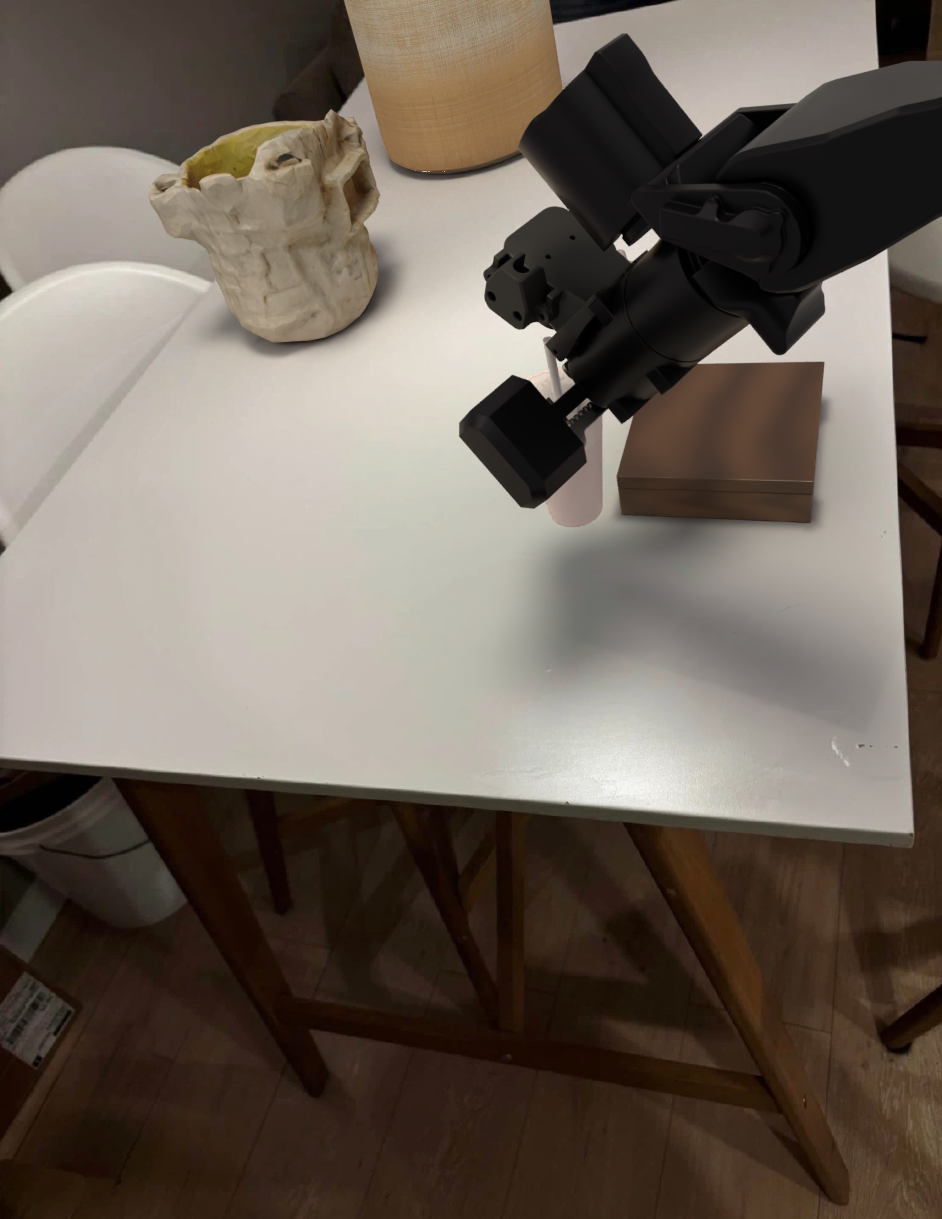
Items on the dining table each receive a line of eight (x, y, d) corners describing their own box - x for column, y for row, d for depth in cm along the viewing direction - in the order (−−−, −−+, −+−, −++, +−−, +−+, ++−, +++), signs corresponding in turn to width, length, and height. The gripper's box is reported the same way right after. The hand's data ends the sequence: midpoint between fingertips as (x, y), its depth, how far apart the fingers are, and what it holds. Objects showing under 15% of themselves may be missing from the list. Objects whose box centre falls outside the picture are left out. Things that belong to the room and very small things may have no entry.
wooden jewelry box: (821, 401, 73) (824, 360, 70) (810, 522, 65) (814, 481, 62) (650, 402, 78) (647, 364, 75) (621, 514, 70) (616, 476, 67)
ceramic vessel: (215, 191, 110) (260, -10, 90) (385, 299, 114) (464, 130, 94) (113, 290, 97) (139, 81, 77) (309, 409, 101) (382, 239, 81)
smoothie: (567, 555, 60) (529, 382, 50) (514, 510, 64) (468, 342, 54) (641, 506, 61) (619, 328, 51) (584, 465, 65) (553, 293, 55)
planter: (508, 185, 112) (469, -18, 96) (354, 177, 124) (296, -4, 108) (598, 94, 124) (576, -100, 108) (449, 96, 136) (410, -78, 120)
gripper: (681, 92, 46) (554, 254, 61) (436, 276, 40) (359, 409, 54) (814, 260, 47) (659, 379, 62) (598, 467, 41) (480, 546, 55)
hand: (544, 422), depth 58 cm, fingers closed on smoothie, 6 cm apart
